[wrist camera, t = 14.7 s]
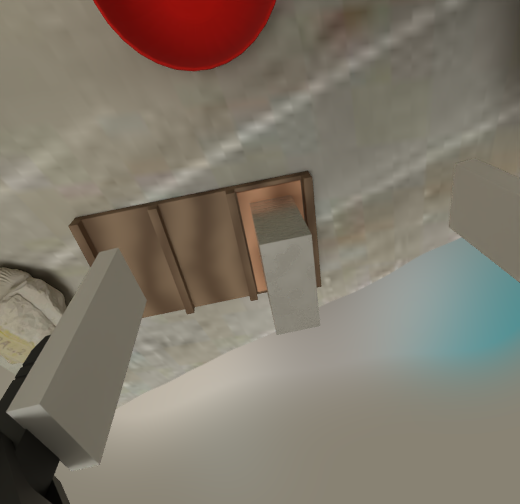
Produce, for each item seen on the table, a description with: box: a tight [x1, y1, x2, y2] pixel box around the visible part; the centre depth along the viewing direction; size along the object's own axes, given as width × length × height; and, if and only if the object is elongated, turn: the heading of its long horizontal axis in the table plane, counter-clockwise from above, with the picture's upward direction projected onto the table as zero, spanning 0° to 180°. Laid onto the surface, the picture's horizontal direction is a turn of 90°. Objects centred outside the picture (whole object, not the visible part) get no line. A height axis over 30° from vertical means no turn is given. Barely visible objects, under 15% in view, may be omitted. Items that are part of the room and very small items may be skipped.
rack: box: [69, 171, 321, 318], centre depth 43 cm, size 28×16×2 cm, turn 99°
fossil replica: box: [0, 267, 67, 364], centre depth 41 cm, size 12×8×10 cm
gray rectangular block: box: [250, 195, 320, 335], centre depth 39 cm, size 5×12×10 cm, turn 9°
